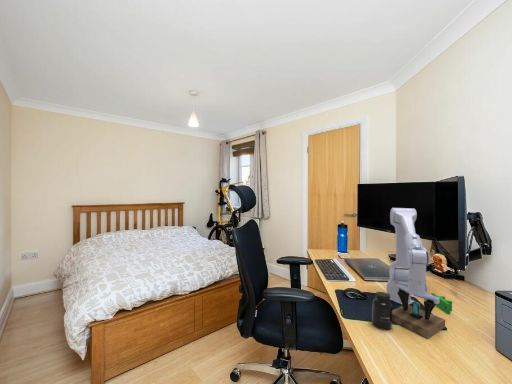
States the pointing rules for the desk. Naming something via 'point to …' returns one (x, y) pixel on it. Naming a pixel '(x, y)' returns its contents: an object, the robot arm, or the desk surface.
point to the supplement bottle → (382, 311)
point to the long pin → (416, 310)
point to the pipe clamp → (444, 304)
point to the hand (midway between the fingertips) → (416, 314)
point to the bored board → (418, 322)
